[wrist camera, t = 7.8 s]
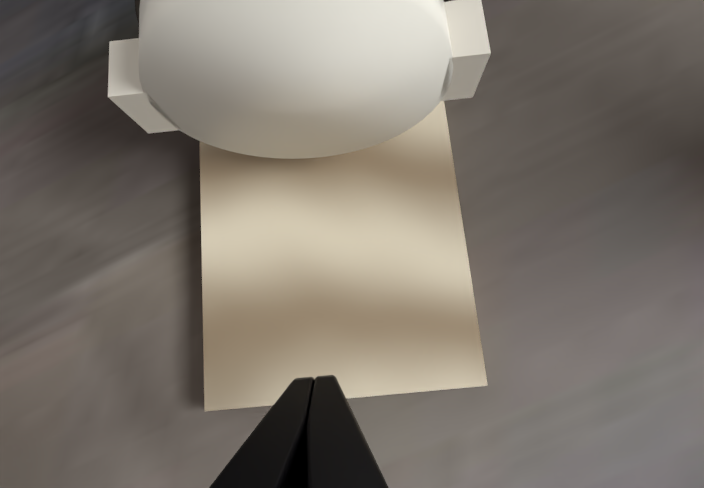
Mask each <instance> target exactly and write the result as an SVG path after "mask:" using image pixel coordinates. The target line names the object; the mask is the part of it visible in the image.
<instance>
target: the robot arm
mask: <svg viewBox="0 0 704 488" xmlns="http://www.w3.org/2000/svg"><path fill="white" fill-rule="evenodd" d="M209 488H388V486H387V484H386V482H385V479H384V477H383V475H382V473H381V471H380V469H379V467H378V465H377V463H376V460H375V458H374V456H373V454H372V452H371V450H370V448H369V446H368V444H367V442H366V439H365V437H364V435H363V433H362V431H361V429H360V427H359V425H358V423H357V420H356V418H355V416H354V414H353V412H352V410H351V408H350V406H349V404H348V401H347V399H346V397H345V395H344V393H343V391H342V389H341V387H340V385H339V383H338V380H337V378H336V377H335V376H334V375H325V376H317V377H316V378H315V379H314V378H313V377H302V378H295V379H294V380H293V381H292V382H291V383H290V385H289V386H288V387H287V388H286V390H285V391H284V392H283V394H282V395H281V396H280V397H279V399H278V400H277V401H276V403H275V404H274V405H273V406H272V408H271V409H270V410H269V412H268V413H267V414H266V415H265V417H264V418H263V419H262V421H261V422H260V423H259V424H258V426H257V427H256V428H255V430H254V431H253V432H252V433H251V435H250V436H249V437H248V439H247V440H246V441H245V442H244V444H243V445H242V446H241V447H240V449H239V450H238V451H237V453H236V454H235V455H234V456H233V458H232V459H231V460H230V462H229V463H228V464H227V465H226V467H225V468H224V469H223V471H222V472H221V473H220V474H219V476H218V477H217V478H216V480H215V481H214V482H213V483H212V485H211V486H210V487H209Z"/></svg>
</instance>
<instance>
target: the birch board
mask: <svg viewBox="0 0 704 488" xmlns="http://www.w3.org/2000/svg"><path fill="white" fill-rule="evenodd" d="M200 195H201V248H202V302H203V356H204V410H205V411H215V410H226V409H237V408H248V407H259V406H270V405H274V404H275V403H276V401H277V400H278V399H279V397H280V396H281V395H282V394H283V392H284V391H285V390H286V388H287V387H288V386H289V385H290V383H291V382H292V381H293V380H294V379H295V378H302V377H313V378H314V379H315V378H316V377H317V376H325V375H334V376H335V377H336V378H337V380H338V383H339V385H340V387H341V389H342V391H343V393H344V395H345V397H346V399H347V398H357V397H368V396H379V395H390V394H401V393H412V392H423V391H434V390H445V389H456V388H467V387H478V386H488V385H487V378H486V372H485V365H484V359H483V352H482V346H481V339H480V333H479V326H478V320H477V313H476V307H475V300H474V294H473V287H472V281H471V274H470V268H469V261H468V255H467V248H466V242H465V235H464V229H463V222H462V216H461V209H460V203H459V196H458V190H457V183H456V177H455V170H454V164H453V157H452V151H451V144H450V138H449V131H448V125H447V118H446V112H445V105H444V101H440V103H439V104H438V105H437V106H436V107H435V108H434V110H433V111H432V112H431V113H429V114H428V115H427V116H426V117H425V118H424V119H423V120H421V121H420V122H419V123H417V124H416V125H415V126H413V127H412V128H410V129H408V130H407V131H405V132H403V133H402V134H400V135H398V136H396V137H394V138H391V139H389V140H387V141H385V142H382V143H380V144H377V145H374V146H371V147H368V148H365V149H361V150H358V151H354V152H350V153H345V154H340V155H334V156H327V157H318V158H304V159H280V158H266V157H258V156H251V155H245V154H240V153H235V152H231V151H228V150H224V149H220V148H217V147H214V146H211V145H209V144H206V143H204V142H201V141H200Z"/></svg>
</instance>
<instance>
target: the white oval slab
mask: <svg viewBox="0 0 704 488" xmlns="http://www.w3.org/2000/svg"><path fill="white" fill-rule="evenodd" d="M490 54H491V51H490V46H489V41H488V35H487V30H486V24H485V19H484V13H483V8H482V3H481V0H457V1H448V2H444V0H140V6H139V38H135V39H127V40H118V41H110V42H109V74H108V98H109V99H111V100H112V101H113V102H114V103H115V104H116V105H117V106H118V107H119V108H121V109H122V110H123V111H124V112H125V113H126V114H127V115H128V116H129V117H131V118H132V119H133V120H134V121H135V122H136V123H137V124H138V125H139V126H141V127H142V128H143V129H144V130H145V131H146V132H147V133H148V134H149V133H158V132H167V131H176V130H180V131H181V132H183V133H185V134H187V135H189V136H190V137H192V138H194V139H197V140H199V141H201V142H204V143H206V144H209V145H211V146H214V147H217V148H220V149H224V150H228V151H231V152H235V153H240V154H245V155H251V156H258V157H266V158H280V159H304V158H318V157H327V156H334V155H340V154H345V153H350V152H354V151H358V150H361V149H365V148H368V147H371V146H374V145H377V144H380V143H382V142H385V141H387V140H389V139H391V138H394V137H396V136H398V135H400V134H402V133H403V132H405V131H407V130H408V129H410V128H412V127H413V126H415V125H416V124H417V123H419V122H420V121H421V120H423V119H424V118H425V117H426V116H427V115H428V114H429V113H431V112H432V111H433V110H434V108H435V107H436V106H437V105H438V104H439V103H440V101H445V100H454V99H463V98H472V97H473V95H474V93H475V90H476V88H477V86H478V83H479V81H480V78H481V76H482V73H483V71H484V69H485V66H486V64H487V61H488V59H489V56H490Z"/></svg>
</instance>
